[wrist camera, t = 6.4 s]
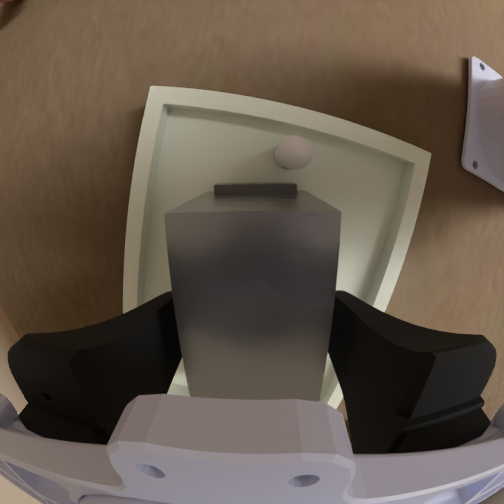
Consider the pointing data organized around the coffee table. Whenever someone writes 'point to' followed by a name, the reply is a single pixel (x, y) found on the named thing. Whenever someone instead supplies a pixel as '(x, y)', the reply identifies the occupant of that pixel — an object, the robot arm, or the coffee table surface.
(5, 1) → the pink toy car
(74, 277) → the coffee table surface
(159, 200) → the pin tray
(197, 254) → the block
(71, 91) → the coffee table surface
